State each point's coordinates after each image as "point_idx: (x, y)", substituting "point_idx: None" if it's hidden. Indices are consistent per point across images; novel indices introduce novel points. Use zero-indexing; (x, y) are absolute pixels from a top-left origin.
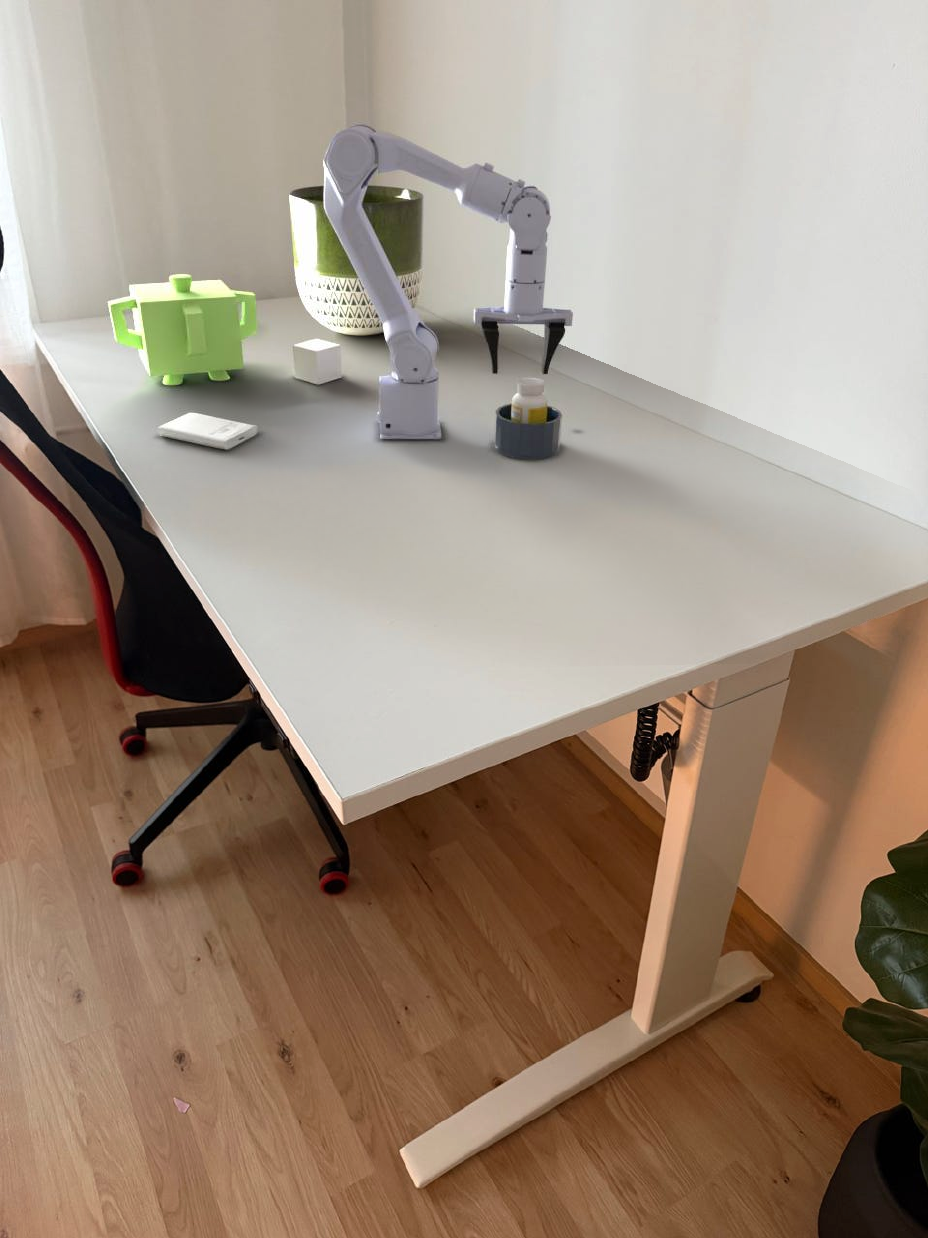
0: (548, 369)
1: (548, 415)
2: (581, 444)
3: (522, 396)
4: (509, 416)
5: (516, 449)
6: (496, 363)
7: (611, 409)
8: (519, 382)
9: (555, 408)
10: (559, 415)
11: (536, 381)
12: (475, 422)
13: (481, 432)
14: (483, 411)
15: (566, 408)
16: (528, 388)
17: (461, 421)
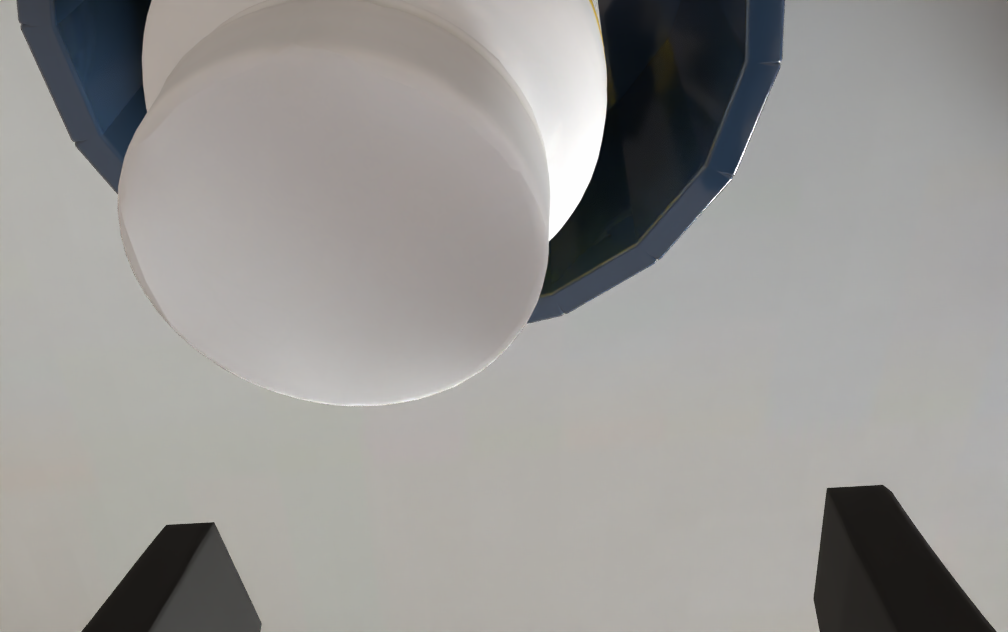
0: (128, 573)
1: None
2: (9, 58)
3: (467, 29)
4: (597, 201)
5: None
6: (899, 594)
7: (3, 593)
8: (520, 175)
9: None
10: (45, 9)
11: (248, 258)
12: (803, 370)
13: (787, 208)
14: (726, 521)
15: (246, 587)
16: (358, 21)
17: (898, 377)
